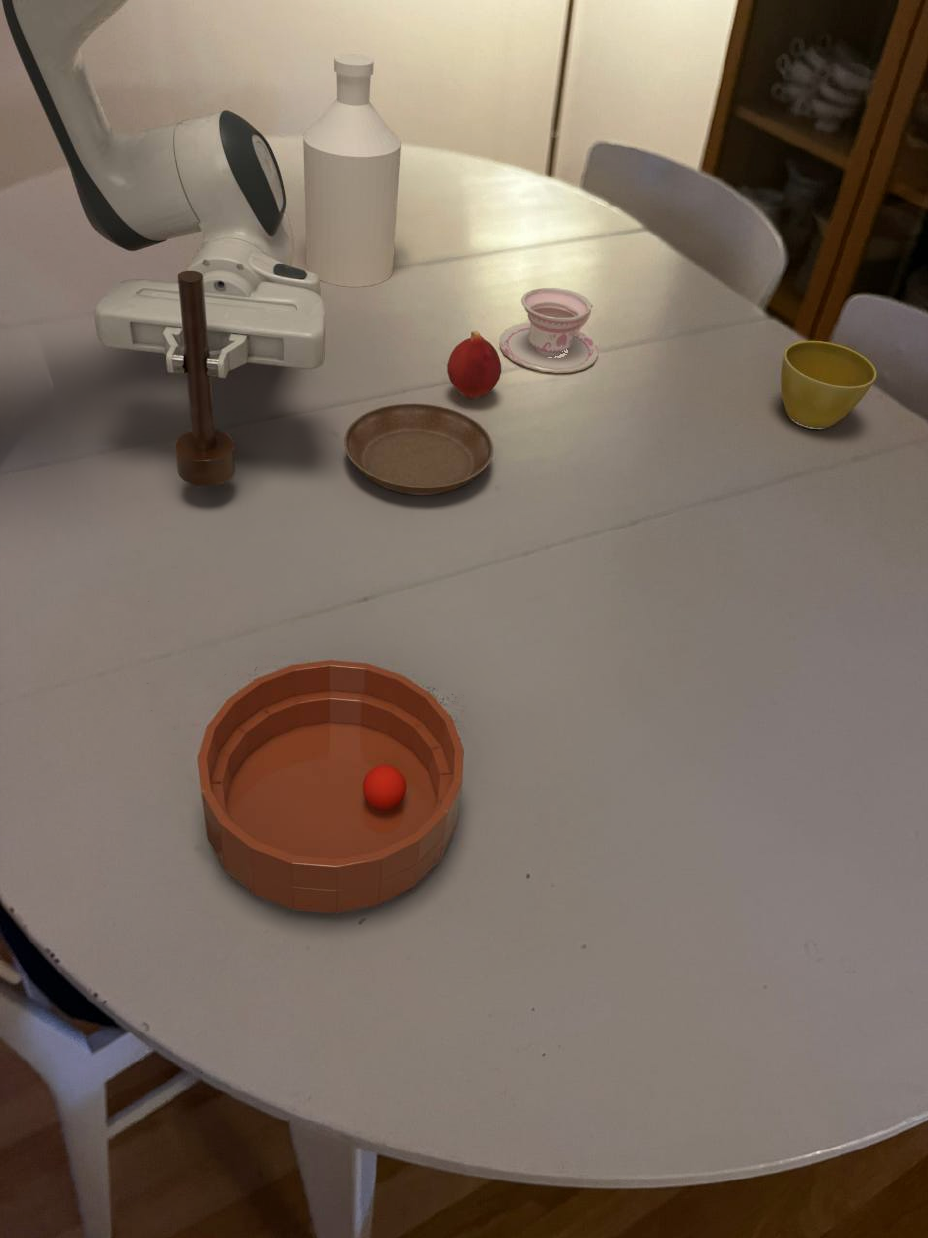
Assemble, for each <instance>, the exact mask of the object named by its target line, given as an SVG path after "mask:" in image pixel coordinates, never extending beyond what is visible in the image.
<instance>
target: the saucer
mask: <svg viewBox="0 0 928 1238" xmlns="http://www.w3.org/2000/svg"><path fill="white" fill-rule="evenodd" d="M343 439H344V440H343V443H344V450H345V452H346V454H347V456H348V458H349V460H350V461H351V463H353V464H354V466H355V467H356V469H358V471H360V472H361V474H363V475H364V476H366V477H367V478H368V479H369V480H371V481H372V482H374V483H375V484H378V485H379V486H381V487H383V488H385V489H387V490H391V491H392V492H393V491H394V492H397V493H401V494H406V495H413V496H431V495H437V494H443V493H446V492H450V491H454V490H456V489H458V488H460V487H463V486H464V485H466V484H468V483H469V482H471V481H473V480H474V479H476V478H477V477H478V475H480V474H481V473H482V472H483V471H484V470H485V469H486V468H487V467H488V466H489V464H490V462H491V460H492V458H493V454H494V445H493V444H494V443H493V441H492V438H491V436H490V435H489V432H488V431H486V429H485V428H484V427H483V426H482V425H481V424H480V423H479V422H478V421H476V420H474V419H473V418H472V417H470V416H468V415H466V414H463V413H462V412H459V411H457V410H454V409H451V408H448V407H443V406H439V405H434V404H427V403H426V404H425V403H397V404H391V405H386V406H381V407H378V408H375V409H373V410H370V411H368V412H366V413H364V414H362V415H361V416H359V417H357V418H356V419H355V420H354V421H353V422H352V423H351V424H350V425H349V427H348V428H347V429H346V431H345V435H344V438H343Z"/></svg>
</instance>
